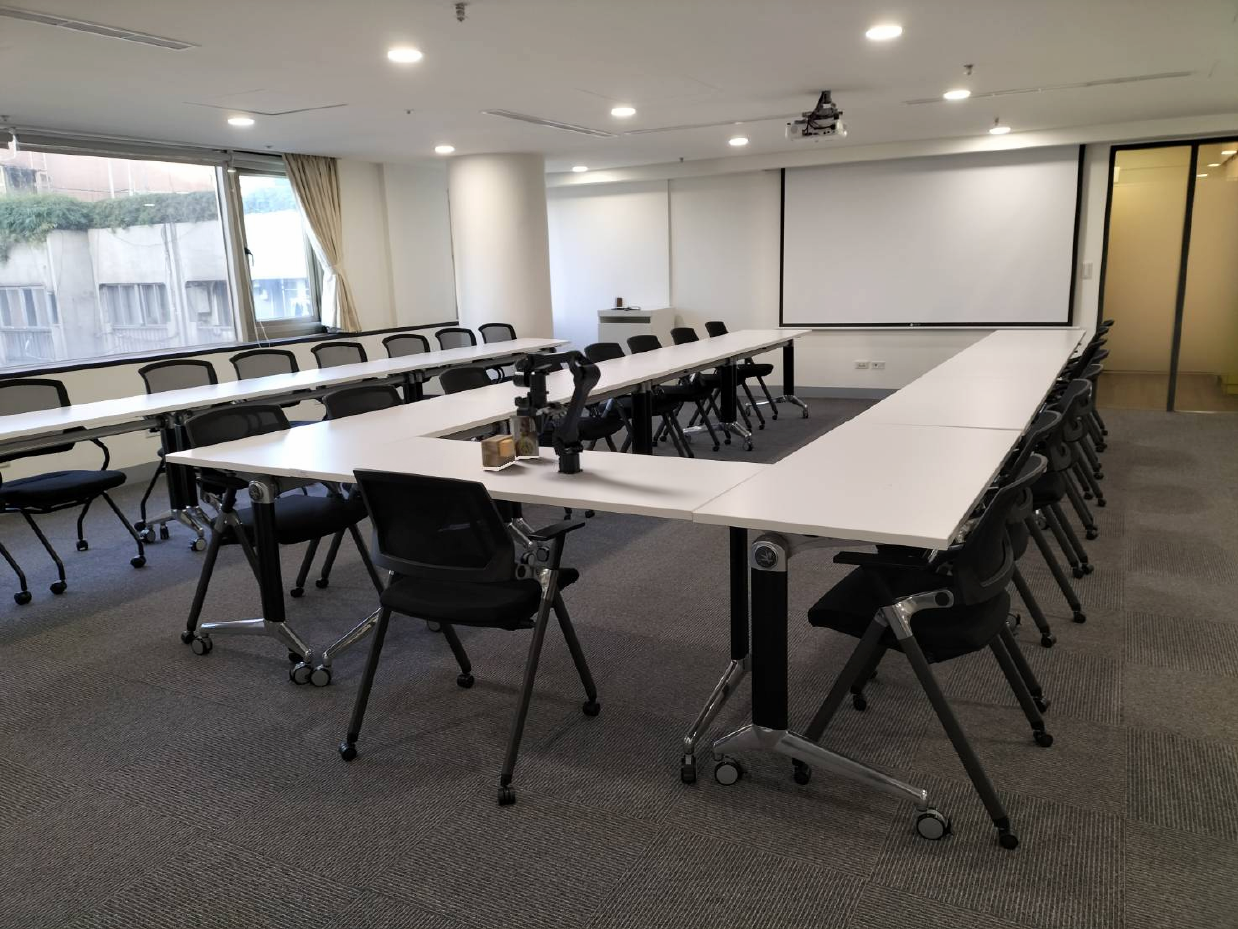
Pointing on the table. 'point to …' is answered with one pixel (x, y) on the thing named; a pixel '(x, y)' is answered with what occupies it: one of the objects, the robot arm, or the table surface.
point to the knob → (506, 448)
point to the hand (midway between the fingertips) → (540, 433)
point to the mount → (495, 451)
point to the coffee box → (524, 435)
